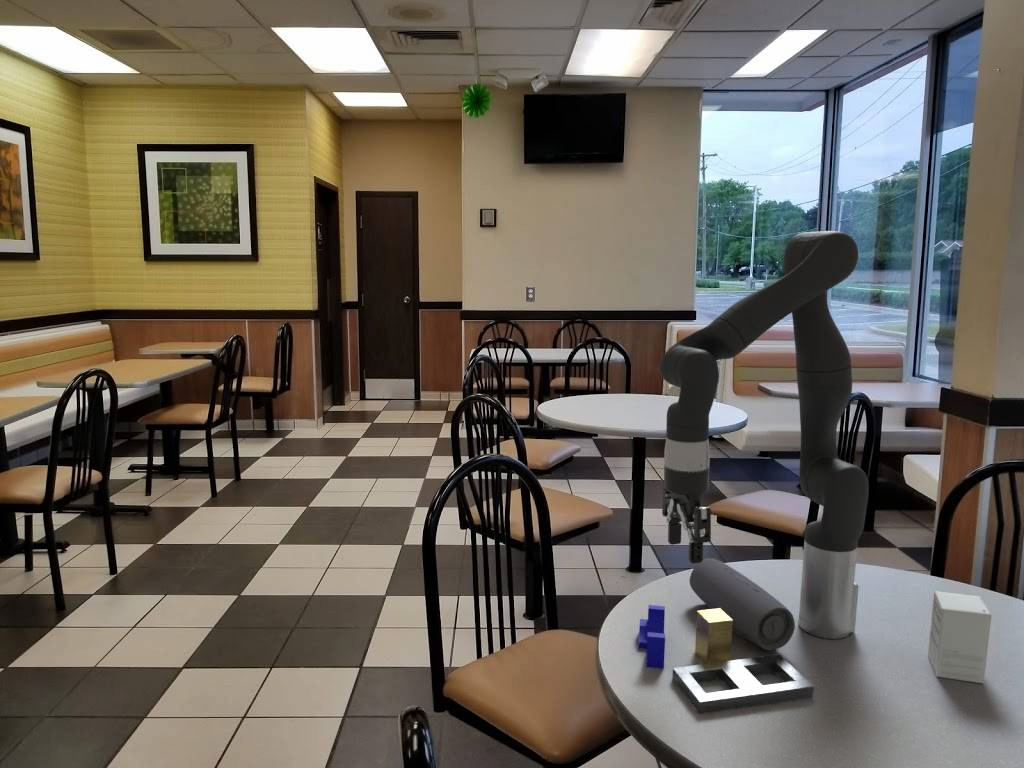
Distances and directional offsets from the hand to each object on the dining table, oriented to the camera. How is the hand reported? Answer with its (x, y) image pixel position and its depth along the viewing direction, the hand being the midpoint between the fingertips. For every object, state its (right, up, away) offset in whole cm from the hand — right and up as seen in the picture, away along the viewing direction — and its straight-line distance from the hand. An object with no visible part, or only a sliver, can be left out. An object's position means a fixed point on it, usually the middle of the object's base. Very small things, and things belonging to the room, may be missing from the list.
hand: (684, 552), depth 131 cm
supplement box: (+47, -20, -1) cm, 51 cm away
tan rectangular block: (+6, -19, +3) cm, 20 cm away
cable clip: (-5, -19, +5) cm, 21 cm away
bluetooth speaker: (+13, -18, +14) cm, 26 cm away
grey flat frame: (+8, -21, -7) cm, 23 cm away
